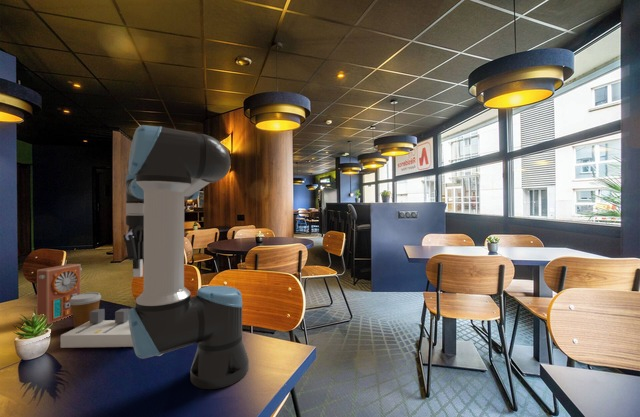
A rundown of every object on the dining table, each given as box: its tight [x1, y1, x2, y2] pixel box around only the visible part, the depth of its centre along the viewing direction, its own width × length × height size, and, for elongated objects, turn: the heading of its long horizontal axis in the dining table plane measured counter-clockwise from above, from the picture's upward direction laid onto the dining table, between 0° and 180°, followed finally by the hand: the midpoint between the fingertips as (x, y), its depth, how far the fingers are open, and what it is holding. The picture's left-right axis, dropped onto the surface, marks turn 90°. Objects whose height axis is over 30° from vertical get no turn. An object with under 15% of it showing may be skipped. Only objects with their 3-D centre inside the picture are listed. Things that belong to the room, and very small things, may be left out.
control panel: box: [36, 263, 83, 325], centre depth 114 cm, size 21×7×15 cm
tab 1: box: [90, 308, 106, 323], centre depth 99 cm, size 3×3×4 cm
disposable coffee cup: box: [69, 291, 102, 329], centre depth 105 cm, size 10×10×12 cm
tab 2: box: [114, 308, 130, 323], centre depth 99 cm, size 3×3×4 cm
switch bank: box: [60, 319, 134, 349], centre depth 95 cm, size 12×26×4 cm, turn 91°
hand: (137, 276), depth 104 cm, fingers closed
